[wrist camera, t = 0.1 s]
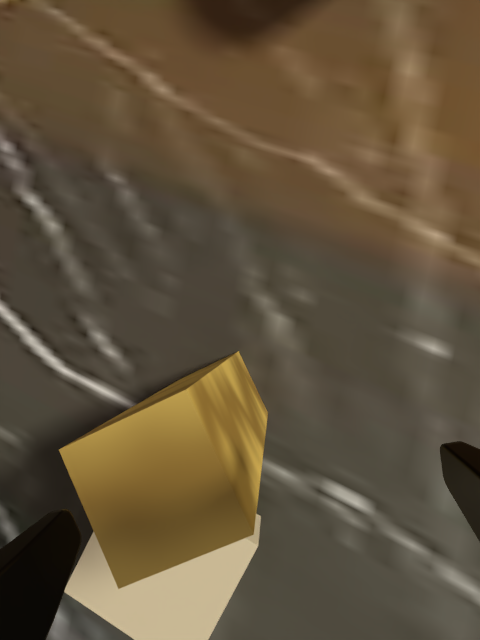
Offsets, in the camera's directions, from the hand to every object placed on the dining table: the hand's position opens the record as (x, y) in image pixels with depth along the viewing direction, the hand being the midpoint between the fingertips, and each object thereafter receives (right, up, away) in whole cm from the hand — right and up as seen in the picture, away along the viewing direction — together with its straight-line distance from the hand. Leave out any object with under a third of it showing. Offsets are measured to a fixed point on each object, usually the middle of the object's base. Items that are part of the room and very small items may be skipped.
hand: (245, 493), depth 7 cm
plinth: (-5, -12, +16) cm, 21 cm away
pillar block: (-1, -2, +16) cm, 16 cm away
